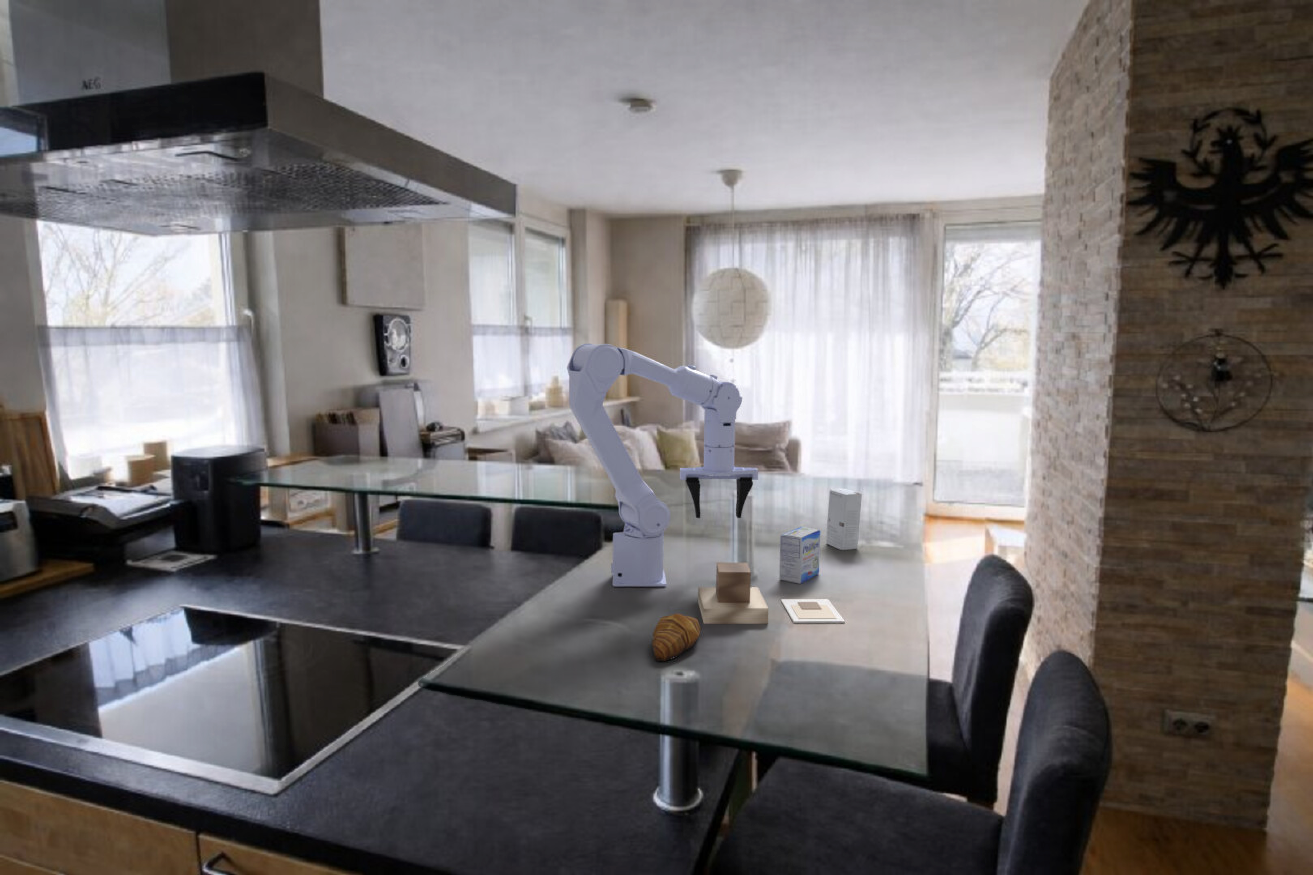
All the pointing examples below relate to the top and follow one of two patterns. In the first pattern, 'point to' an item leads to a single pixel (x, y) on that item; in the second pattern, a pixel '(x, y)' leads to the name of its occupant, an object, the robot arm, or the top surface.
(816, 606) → the picture card
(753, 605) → the maple block
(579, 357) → the robot arm
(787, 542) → the medicine box
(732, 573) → the walnut cube
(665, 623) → the croissant
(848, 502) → the skincare box
